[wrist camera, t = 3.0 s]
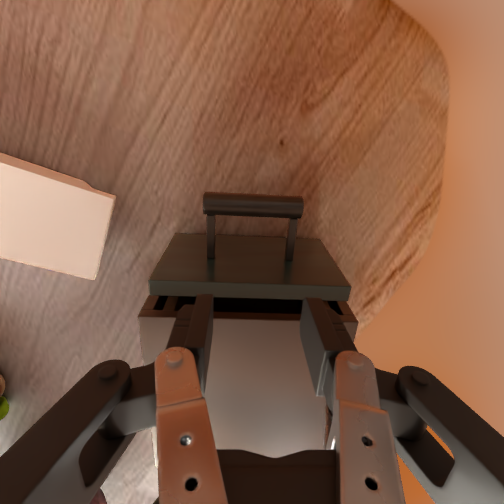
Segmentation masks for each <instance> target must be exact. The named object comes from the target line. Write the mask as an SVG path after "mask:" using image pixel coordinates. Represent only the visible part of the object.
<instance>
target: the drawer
mask: <svg viewBox="0 0 504 504" xmlns="http://www.w3.org/2000/svg"><path fill="white" fill-rule="evenodd" d="M303 209H304V200H303V197H302V196H284V195H264V194H243V193H223V192H204V195H203V213H204V214H207V234H186V233H175V235H174V237H173V238H172V240H171V242H170V243H169V245H168V247H167V249H166V250H165V252H164V254H163V256H162V257H161V259H160V261H159V262H158V264H157V266H156V268H155V269H154V271H153V273H152V275H151V276H150V278H149V280H148V283H149V293H150V295H154V296H168V299H167V301H166V303H165V306H164V308H163V310H172V311H179V310H180V309H181V308H182V307H183V306H184V305H185V304H189V305H195V301H196V297H197V294H213V312H244V313H280V314H301V313H302V306H303V300H304V298H305V297H308V298H321V299H322V301H323V304H324V306H325V308H326V309H330V306H329V304H328V302H327V301H348V299H349V295H350V290H351V286H350V284H349V283H348V281H347V280H346V278H345V276H344V275H343V273H342V272H341V270H340V269H339V267H338V266H337V264H336V263H335V261H334V260H333V258H332V257H331V255H330V254H329V252H328V251H327V249H326V248H325V246H324V245H323V243H322V241H321V240H320V239H308V238H296V231H297V223H298V219H300V218H301V217H302V215H303ZM216 215H229V216H251V217H274V218H289V220H288V229H287V238H283V237H259V236H235V235H215V223H216Z"/></svg>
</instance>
